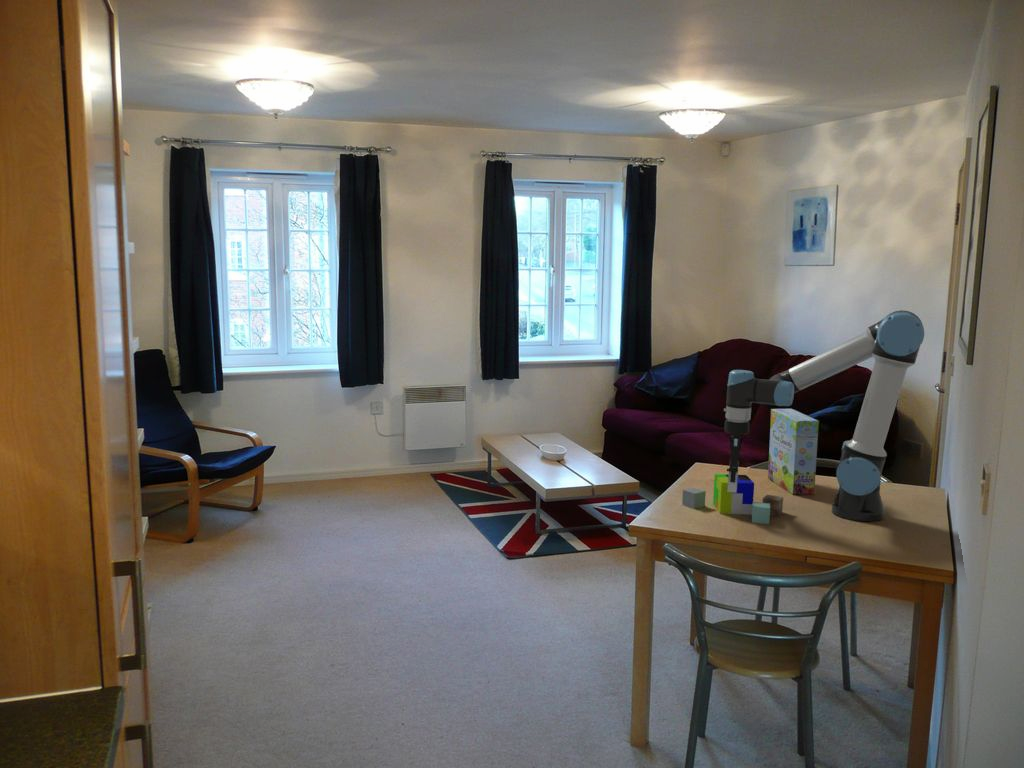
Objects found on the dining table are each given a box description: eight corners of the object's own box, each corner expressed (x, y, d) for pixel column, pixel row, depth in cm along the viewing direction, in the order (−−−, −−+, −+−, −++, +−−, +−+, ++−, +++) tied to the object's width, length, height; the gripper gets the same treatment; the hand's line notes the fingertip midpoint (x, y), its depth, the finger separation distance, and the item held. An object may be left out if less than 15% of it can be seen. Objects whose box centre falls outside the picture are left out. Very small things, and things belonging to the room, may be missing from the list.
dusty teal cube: (768, 519, 258) (769, 503, 257) (769, 524, 254) (770, 508, 253) (751, 517, 260) (752, 501, 259) (751, 522, 255) (752, 506, 254)
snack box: (765, 478, 306) (769, 408, 302) (788, 478, 307) (793, 408, 303) (791, 495, 284) (796, 420, 280) (815, 495, 285) (821, 419, 281)
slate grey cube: (704, 506, 270) (705, 491, 270) (693, 509, 267) (694, 493, 267) (693, 502, 274) (693, 487, 274) (682, 505, 272) (682, 489, 271)
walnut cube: (782, 512, 265) (783, 497, 265) (778, 516, 261) (779, 500, 260) (766, 509, 268) (767, 494, 267) (761, 513, 264) (762, 498, 263)
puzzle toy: (752, 514, 263) (754, 483, 261) (719, 513, 263) (721, 482, 261) (744, 505, 273) (746, 474, 271) (713, 504, 273) (714, 474, 271)
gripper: (726, 411, 276) (721, 475, 280) (723, 426, 252) (718, 495, 256) (750, 413, 274) (744, 477, 278) (749, 428, 251) (744, 498, 254)
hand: (732, 486), depth 267 cm, fingers open, 13 cm apart
